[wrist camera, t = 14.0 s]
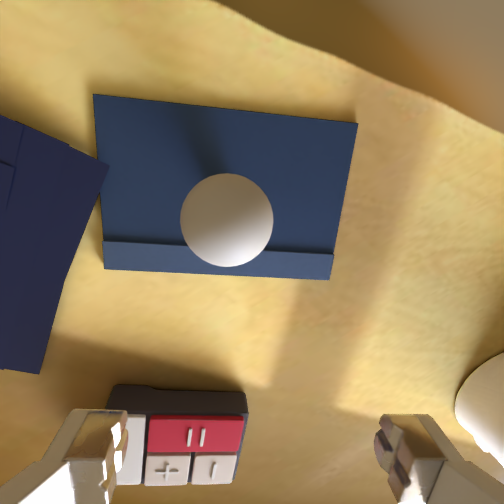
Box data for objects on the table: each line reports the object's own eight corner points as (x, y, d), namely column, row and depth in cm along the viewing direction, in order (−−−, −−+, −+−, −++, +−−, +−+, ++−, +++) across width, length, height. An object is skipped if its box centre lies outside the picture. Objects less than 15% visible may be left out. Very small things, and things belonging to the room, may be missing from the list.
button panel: (234, 488, 36) (99, 492, 33) (232, 453, 40) (111, 454, 37) (250, 418, 33) (100, 416, 30) (245, 387, 37) (113, 383, 34)
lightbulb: (236, 150, 26) (244, 156, 16) (271, 209, 28) (299, 247, 18) (178, 189, 27) (150, 218, 17) (217, 243, 29) (213, 300, 19)
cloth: (356, 123, 27) (360, 123, 26) (327, 278, 32) (329, 281, 31) (94, 94, 24) (91, 93, 24) (106, 267, 29) (104, 270, 29)
